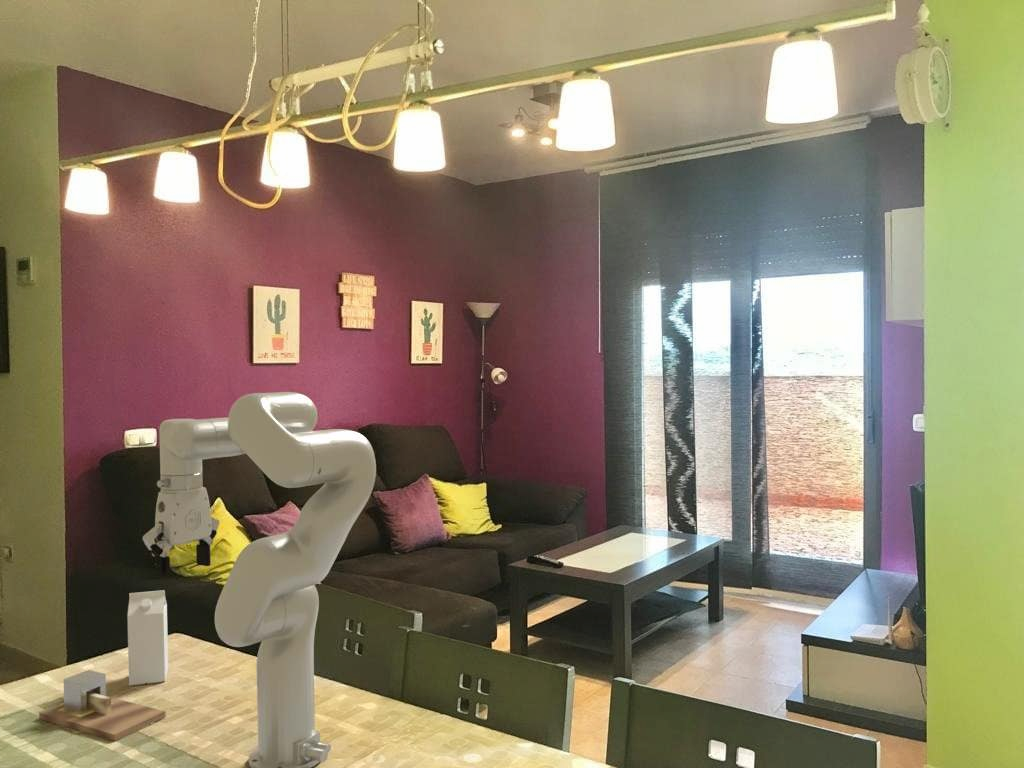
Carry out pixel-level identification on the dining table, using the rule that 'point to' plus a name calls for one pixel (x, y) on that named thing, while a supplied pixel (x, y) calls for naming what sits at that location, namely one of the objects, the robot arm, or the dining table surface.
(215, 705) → the dining table surface
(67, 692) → the notched grey block
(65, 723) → the rail board
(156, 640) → the milk carton
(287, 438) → the robot arm
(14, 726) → the dining table surface
